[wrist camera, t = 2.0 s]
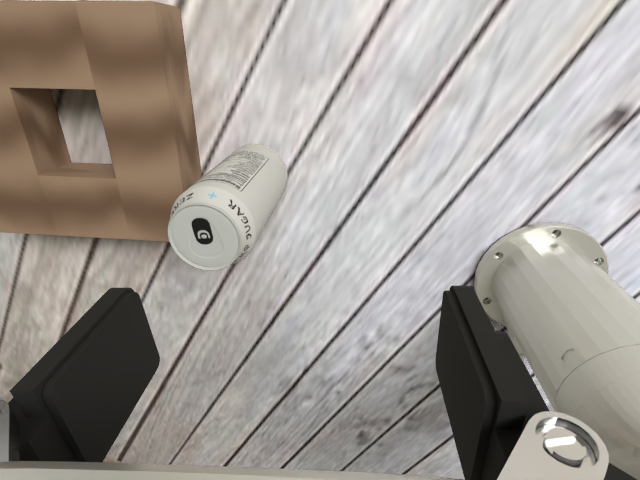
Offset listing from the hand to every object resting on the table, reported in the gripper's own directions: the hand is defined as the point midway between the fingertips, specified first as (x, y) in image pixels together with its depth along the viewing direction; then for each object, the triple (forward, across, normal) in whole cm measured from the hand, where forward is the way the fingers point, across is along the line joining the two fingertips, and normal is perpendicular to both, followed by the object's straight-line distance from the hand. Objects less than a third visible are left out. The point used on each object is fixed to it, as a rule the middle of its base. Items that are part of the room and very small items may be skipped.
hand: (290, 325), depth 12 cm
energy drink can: (+27, +7, +3) cm, 28 cm away
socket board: (+28, +23, -2) cm, 36 cm away
